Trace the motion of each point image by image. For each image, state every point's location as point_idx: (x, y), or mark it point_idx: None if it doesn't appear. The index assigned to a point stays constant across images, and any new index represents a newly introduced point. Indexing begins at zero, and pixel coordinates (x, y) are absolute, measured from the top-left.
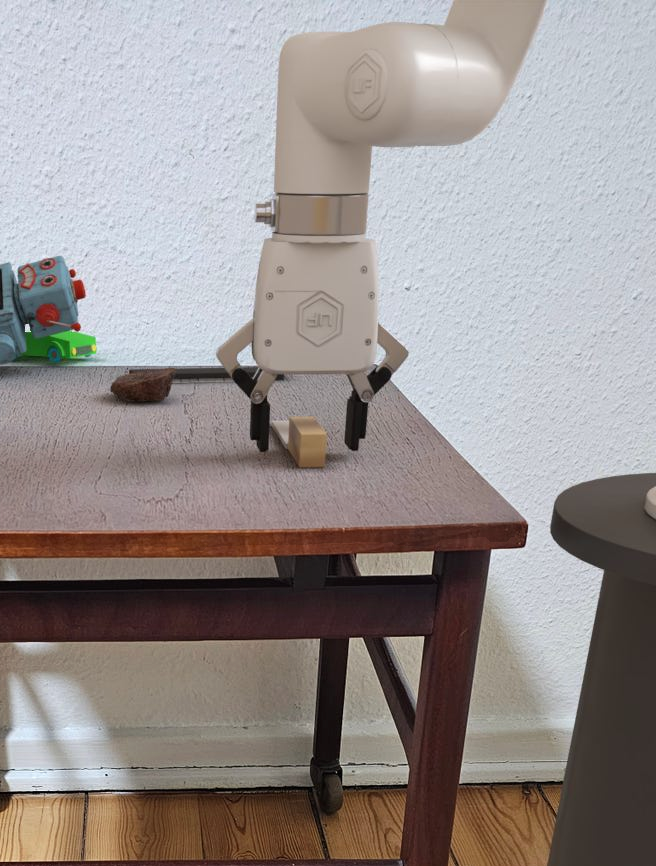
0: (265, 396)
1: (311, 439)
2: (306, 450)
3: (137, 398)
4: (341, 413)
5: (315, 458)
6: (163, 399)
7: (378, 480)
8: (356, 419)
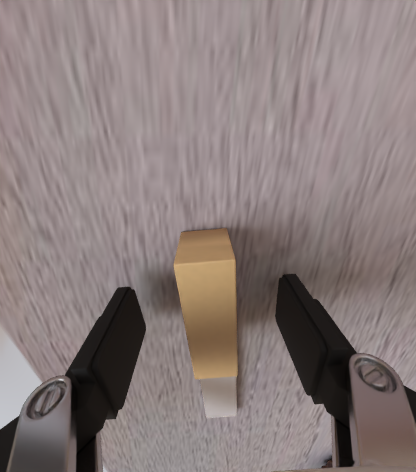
0: (349, 376)
1: (209, 254)
2: (217, 241)
3: None
4: (157, 443)
5: (198, 236)
6: (328, 461)
7: (67, 134)
8: (101, 331)
